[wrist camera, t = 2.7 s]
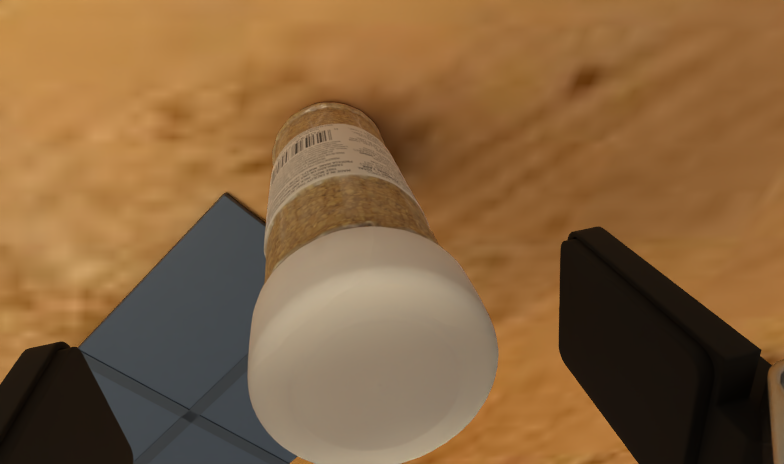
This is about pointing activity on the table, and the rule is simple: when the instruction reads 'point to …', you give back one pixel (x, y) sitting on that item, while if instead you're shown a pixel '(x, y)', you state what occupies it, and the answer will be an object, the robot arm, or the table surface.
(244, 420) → the napkin
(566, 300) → the robot arm
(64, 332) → the table surface
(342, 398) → the spice jar
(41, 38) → the table surface
